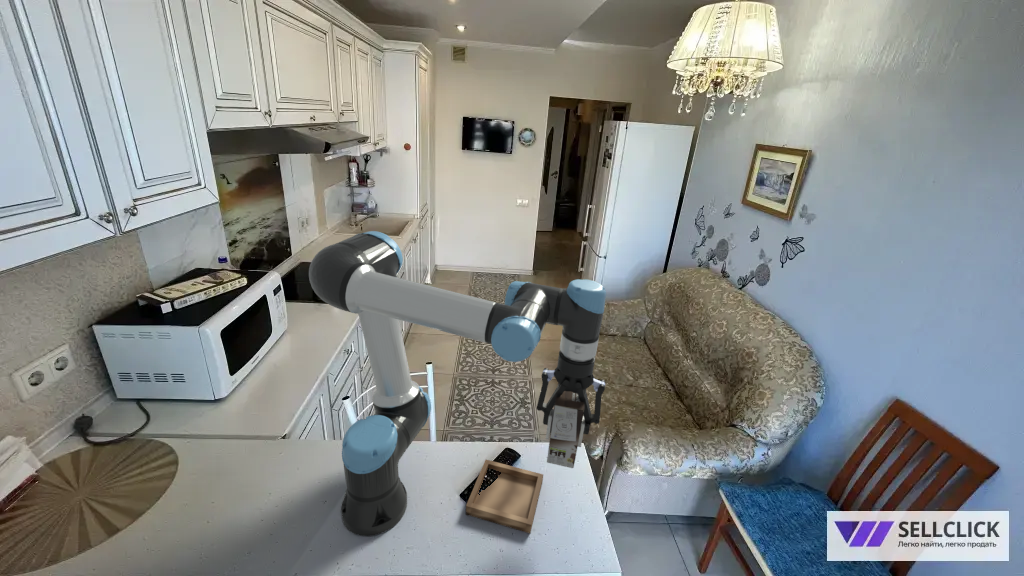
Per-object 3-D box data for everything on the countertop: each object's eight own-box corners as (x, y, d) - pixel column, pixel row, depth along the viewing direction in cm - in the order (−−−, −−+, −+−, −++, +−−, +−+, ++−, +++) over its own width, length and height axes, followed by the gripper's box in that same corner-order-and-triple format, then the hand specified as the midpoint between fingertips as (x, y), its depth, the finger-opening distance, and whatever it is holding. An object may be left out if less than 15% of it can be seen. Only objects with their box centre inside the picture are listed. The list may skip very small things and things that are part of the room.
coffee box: (574, 469, 90) (584, 411, 84) (545, 463, 91) (553, 405, 85) (576, 440, 98) (586, 385, 92) (550, 435, 99) (558, 380, 93)
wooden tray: (465, 514, 99) (465, 505, 97) (485, 467, 112) (485, 459, 111) (530, 533, 95) (531, 524, 94) (542, 482, 109) (543, 474, 108)
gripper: (527, 352, 83) (518, 439, 92) (625, 372, 79) (606, 461, 88) (535, 335, 90) (526, 418, 98) (625, 353, 85) (607, 437, 94)
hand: (563, 438), depth 93 cm, fingers closed on coffee box, 7 cm apart
